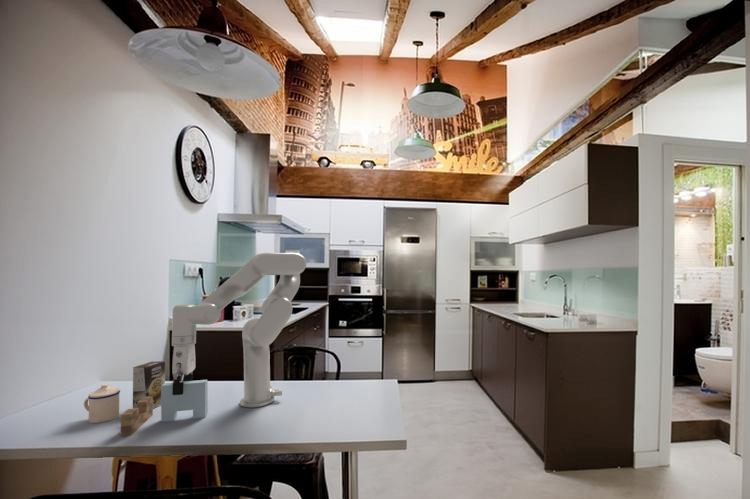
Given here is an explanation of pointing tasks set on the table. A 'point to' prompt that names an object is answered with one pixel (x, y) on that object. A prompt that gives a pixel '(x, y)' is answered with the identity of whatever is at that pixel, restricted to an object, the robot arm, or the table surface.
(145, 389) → the coffee box
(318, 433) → the table surface
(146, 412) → the notched walnut block
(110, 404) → the teacup with lid
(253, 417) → the table surface
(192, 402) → the light blue arch block
